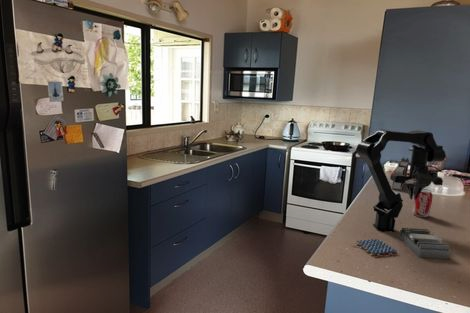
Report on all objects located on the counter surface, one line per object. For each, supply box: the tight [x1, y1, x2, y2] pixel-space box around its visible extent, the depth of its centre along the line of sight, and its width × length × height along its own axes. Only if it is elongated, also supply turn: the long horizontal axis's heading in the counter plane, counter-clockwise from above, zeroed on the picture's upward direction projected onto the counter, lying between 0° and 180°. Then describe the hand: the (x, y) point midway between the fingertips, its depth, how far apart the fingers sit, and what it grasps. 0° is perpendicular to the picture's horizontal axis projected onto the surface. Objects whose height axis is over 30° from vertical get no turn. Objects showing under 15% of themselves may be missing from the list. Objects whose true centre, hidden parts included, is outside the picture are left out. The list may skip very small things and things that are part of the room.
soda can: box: [412, 188, 434, 218], centre depth 159 cm, size 7×7×12 cm
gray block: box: [407, 233, 443, 243], centre depth 126 cm, size 10×4×1 cm, turn 88°
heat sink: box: [398, 227, 451, 260], centre depth 126 cm, size 10×16×5 cm, turn 178°
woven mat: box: [355, 238, 399, 258], centre depth 123 cm, size 10×11×2 cm
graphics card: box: [391, 156, 410, 191], centre depth 213 cm, size 33×5×14 cm, turn 148°
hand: (413, 199), depth 144 cm, fingers closed
